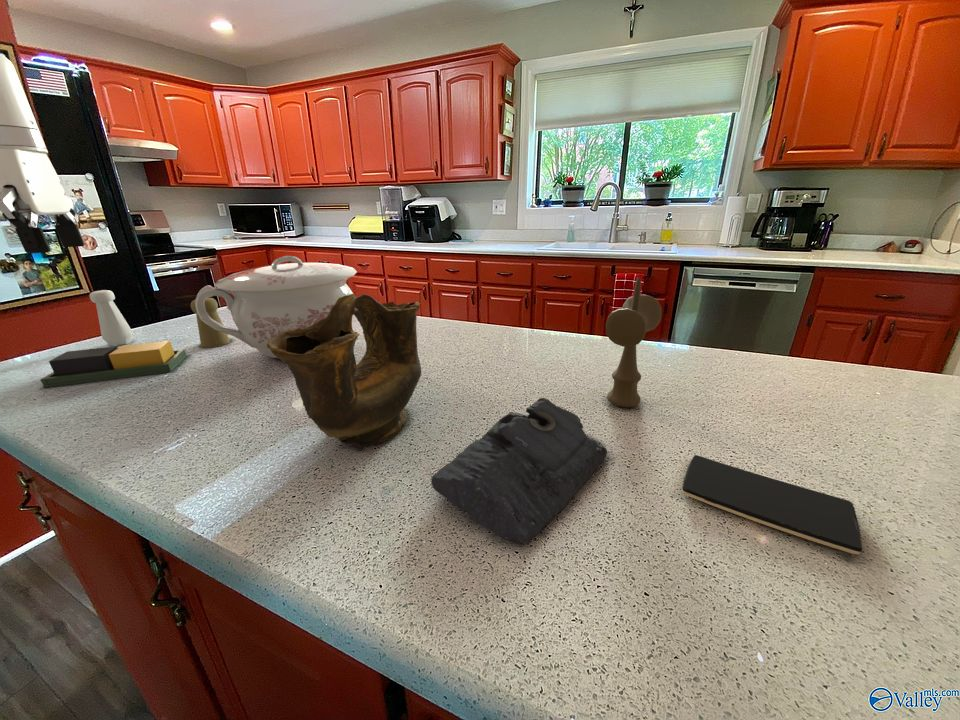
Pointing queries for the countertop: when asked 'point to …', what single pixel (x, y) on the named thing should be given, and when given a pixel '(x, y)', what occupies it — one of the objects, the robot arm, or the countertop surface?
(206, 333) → the olive knobbed cylinder
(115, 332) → the salt shaker
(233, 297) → the chamber pot
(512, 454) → the dark slate chunk
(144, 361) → the mustard pad
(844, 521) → the smartphone
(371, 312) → the pottery vessel
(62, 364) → the charcoal pad
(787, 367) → the countertop surface
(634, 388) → the kendama
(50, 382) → the tray
